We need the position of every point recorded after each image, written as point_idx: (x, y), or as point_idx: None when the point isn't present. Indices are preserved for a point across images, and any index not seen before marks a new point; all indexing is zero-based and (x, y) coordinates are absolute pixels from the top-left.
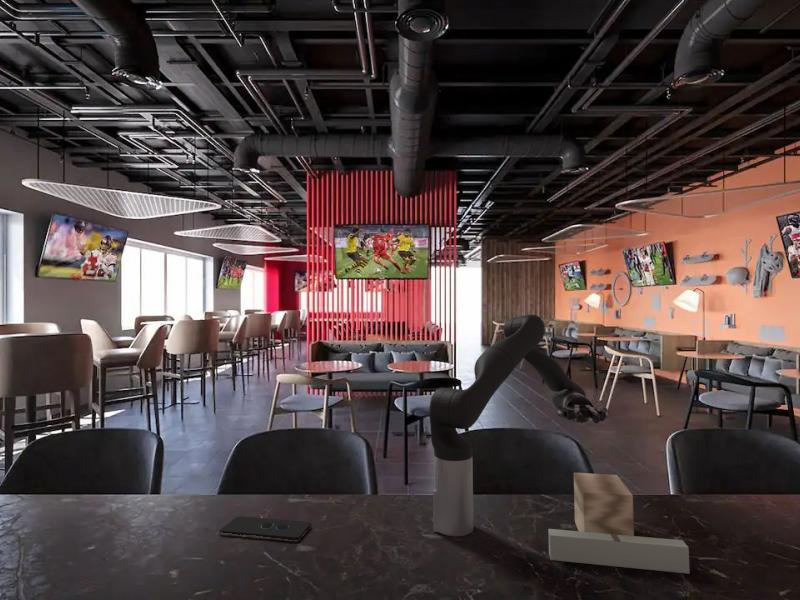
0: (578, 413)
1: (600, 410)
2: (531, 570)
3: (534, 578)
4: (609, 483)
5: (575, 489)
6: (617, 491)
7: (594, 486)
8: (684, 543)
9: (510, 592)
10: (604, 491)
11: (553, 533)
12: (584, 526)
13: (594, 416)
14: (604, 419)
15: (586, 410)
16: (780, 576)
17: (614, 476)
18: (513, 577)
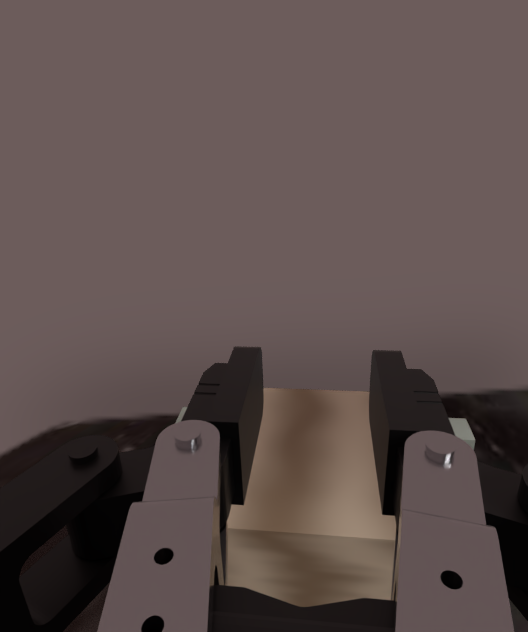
0: (413, 396)
1: (47, 504)
2: (489, 433)
3: (477, 417)
4: (287, 446)
5: None
6: (285, 401)
7: (348, 423)
8: (180, 416)
9: (506, 390)
10: (324, 399)
11: (459, 424)
12: None
13: (259, 366)
14: (58, 554)
15: (250, 596)
16: (19, 456)
17: (235, 509)
18: (515, 416)
